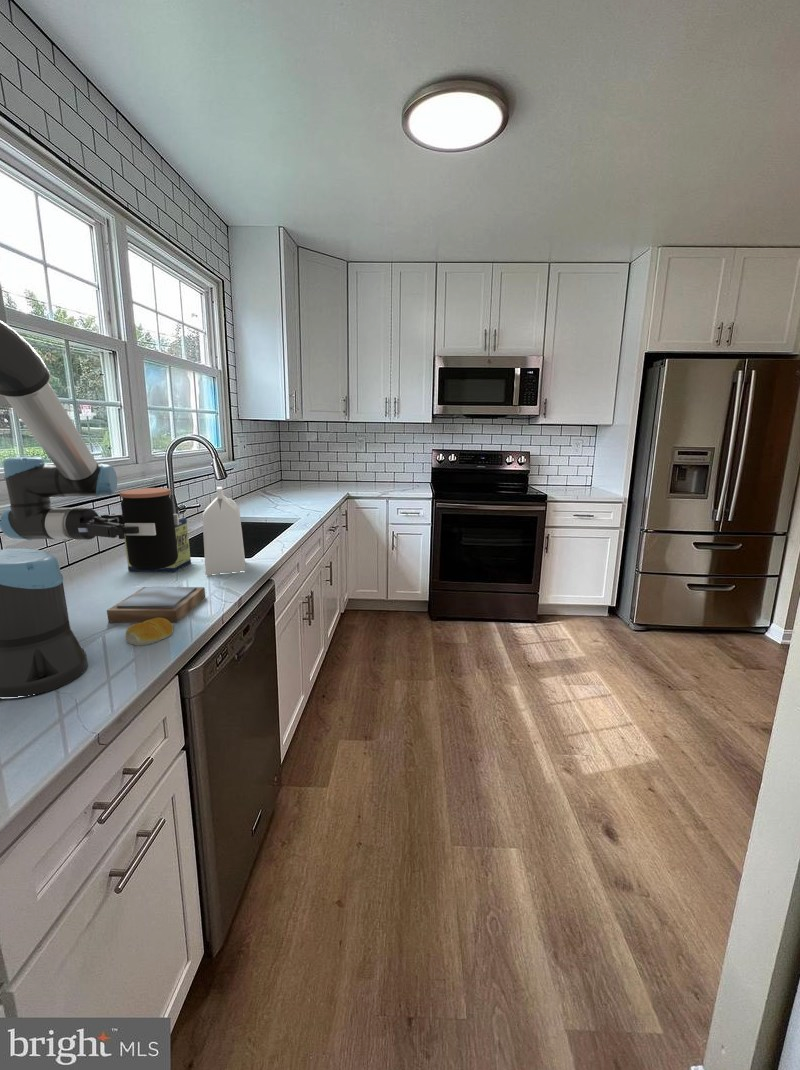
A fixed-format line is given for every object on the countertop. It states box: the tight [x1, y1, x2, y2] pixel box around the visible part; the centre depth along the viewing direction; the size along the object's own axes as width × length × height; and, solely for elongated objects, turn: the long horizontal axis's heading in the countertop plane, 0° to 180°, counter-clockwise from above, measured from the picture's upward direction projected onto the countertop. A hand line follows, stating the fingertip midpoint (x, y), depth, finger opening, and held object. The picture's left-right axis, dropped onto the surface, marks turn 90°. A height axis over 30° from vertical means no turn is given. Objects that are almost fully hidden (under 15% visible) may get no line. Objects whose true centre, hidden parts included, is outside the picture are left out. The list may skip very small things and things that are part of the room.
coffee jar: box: [119, 487, 178, 570], centre depth 111 cm, size 11×11×18 cm
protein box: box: [124, 517, 192, 573], centre depth 149 cm, size 10×16×16 cm
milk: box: [202, 486, 246, 576], centre depth 146 cm, size 12×12×26 cm
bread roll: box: [125, 617, 174, 646], centre depth 101 cm, size 8×9×4 cm
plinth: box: [106, 586, 206, 624], centre depth 116 cm, size 16×16×4 cm
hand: (166, 524), depth 111 cm, fingers closed on coffee jar, 11 cm apart
